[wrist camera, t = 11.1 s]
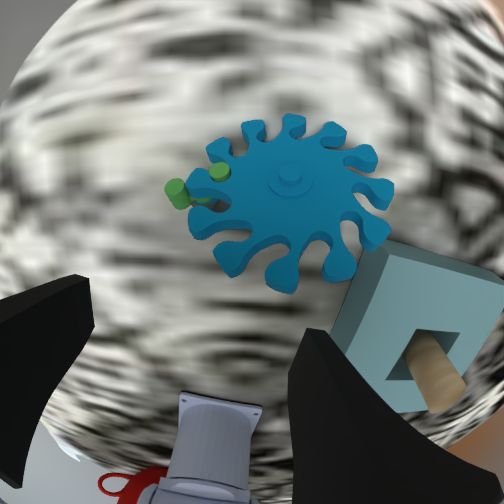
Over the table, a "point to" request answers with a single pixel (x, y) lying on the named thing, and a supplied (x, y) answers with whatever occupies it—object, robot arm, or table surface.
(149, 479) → the ceramic cup
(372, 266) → the socket block
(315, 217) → the blue slotted wheel
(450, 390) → the oak peg
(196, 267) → the table surface
